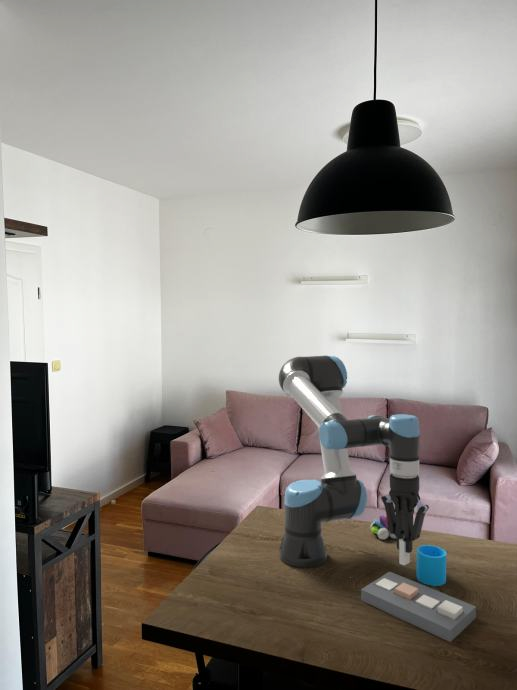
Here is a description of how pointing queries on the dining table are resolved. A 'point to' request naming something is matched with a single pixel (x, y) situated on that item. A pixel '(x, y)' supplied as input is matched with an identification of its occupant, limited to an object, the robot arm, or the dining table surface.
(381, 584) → the key
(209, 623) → the dining table surface
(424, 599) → the key
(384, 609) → the keypad
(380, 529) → the multicoloured ball cluster
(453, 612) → the key
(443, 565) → the mug
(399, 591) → the key
